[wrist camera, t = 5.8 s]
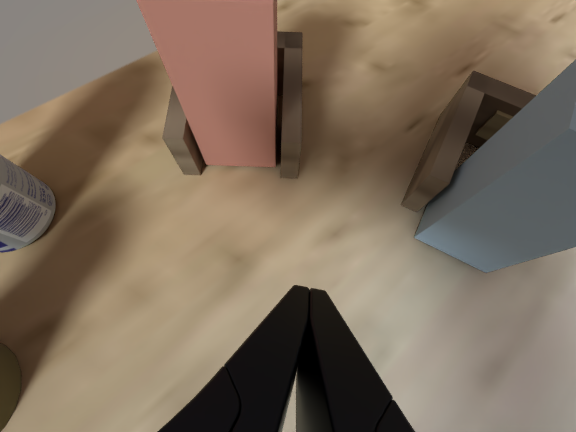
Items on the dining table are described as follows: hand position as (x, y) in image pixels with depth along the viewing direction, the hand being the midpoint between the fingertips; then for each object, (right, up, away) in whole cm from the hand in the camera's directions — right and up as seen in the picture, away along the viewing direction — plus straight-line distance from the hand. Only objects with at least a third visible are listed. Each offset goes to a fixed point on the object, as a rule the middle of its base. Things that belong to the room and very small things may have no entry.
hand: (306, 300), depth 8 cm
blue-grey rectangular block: (+11, +1, +13) cm, 18 cm away
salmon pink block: (-4, +8, +15) cm, 18 cm away
